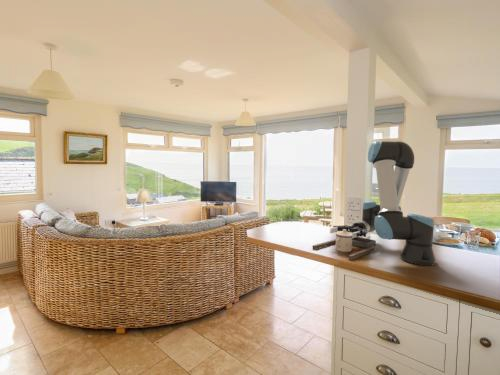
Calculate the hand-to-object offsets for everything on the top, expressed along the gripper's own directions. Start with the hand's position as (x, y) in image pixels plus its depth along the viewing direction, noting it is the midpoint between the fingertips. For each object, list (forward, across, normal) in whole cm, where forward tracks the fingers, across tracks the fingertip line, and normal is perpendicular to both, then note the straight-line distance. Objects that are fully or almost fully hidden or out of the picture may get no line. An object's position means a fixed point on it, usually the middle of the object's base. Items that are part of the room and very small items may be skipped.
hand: (341, 233), depth 157 cm
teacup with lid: (-1, 0, -10) cm, 10 cm away
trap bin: (-21, 0, -10) cm, 23 cm away
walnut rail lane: (-2, 0, -10) cm, 10 cm away
